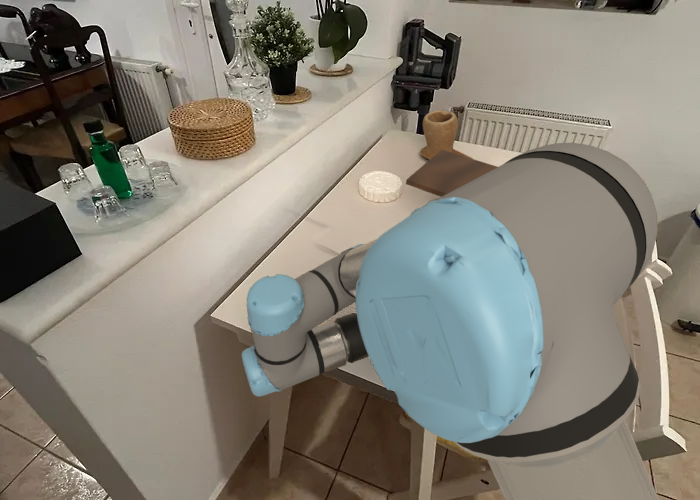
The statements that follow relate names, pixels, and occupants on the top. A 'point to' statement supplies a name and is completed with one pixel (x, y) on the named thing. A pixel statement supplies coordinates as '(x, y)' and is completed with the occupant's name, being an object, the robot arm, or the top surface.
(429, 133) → the stone cup
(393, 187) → the mooncake
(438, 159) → the side table
